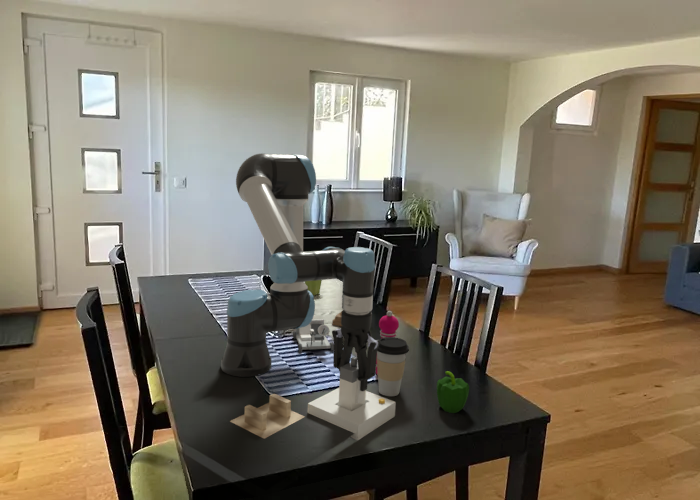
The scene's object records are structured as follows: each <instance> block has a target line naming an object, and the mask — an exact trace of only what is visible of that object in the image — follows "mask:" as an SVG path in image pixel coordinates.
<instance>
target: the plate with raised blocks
mask: <svg viewBox="0 0 700 500" xmlns="http://www.w3.org/2000/svg"><path fill="white" fill-rule="evenodd" d="M291 408H292V400H289V399H287V398H285V397H282V396H281V395H278V394H276V393H272V394H270V395H269V401H268V402H267V403H265V404H263V405H261V406H259V407H256V406H253V405H251V404H247V405H246V406H244V414H241V415H239V416H237V417H235V418H233V419H231V420H229V422H230V423H232V424H235V425H236V426H238V427H240V428H242V429H244V430H246V431H247V432H250V433H252V434H254V435H256V436H257V437H260V438H262V439H264V440H265V439H267V438H268V437H270V436H272V435H274V434H275V433H278V432H280V431H282V430H284V429H285V428H287V427H289V426H290V425H292V424H294V423H297V422H298V421H300V420H302V419H304V418H305V417H306V416H304V415H303V414H299V412H295V411H293V410H292V409H291Z"/></svg>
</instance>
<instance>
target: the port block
mask: <svg viewBox="0 0 700 500" xmlns="http://www.w3.org/2000/svg"><path fill="white" fill-rule="evenodd" d="M396 405H397V404H396V401H394V400H392V399H388V398H387V397H383V396H381V395H378V394H376V393H373V392H370V391H367V390H366V398H365V404H364V405H362V406H360V407H359V408H357V409H355V410H353V411H350V410H347V409H345V408H342V407H340V406H339V387H337V388H336V389H333V390H332V391H330V392H328V393H326V394H324V395H322V396H320V397H317V398H316V399H314V400H312V401H309V402H308V403H307V414H310V415H312V416H314V417H315V418H316V417H317V418H319V419H321V420H323V421H325V422H328V423H330V424H332V425H335V426H337V427H339V428H342V429H344V430H345V431H349V432H351V433H352V434H351V435H350V436H349V438H351V439H353V440H355V441H359V440H362V438H364V437H366V436H367V435H368V434H370V433H372V432H373V431H375V430H376V429H377V428H379V427H380V426H382V425H384V424H385V423H387V422H388V421H390V420H391V419H393V418H395V416H396Z"/></svg>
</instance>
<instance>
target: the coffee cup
mask: <svg viewBox="0 0 700 500" xmlns="http://www.w3.org/2000/svg"><path fill="white" fill-rule="evenodd" d="M378 340H379V341H380V344H379V347H378V349H377V364H376V366H377V373H378V375H377V379H378V380H377V381H378V382H377V383H378V393H379V394H381V395H382V396H386V397H395V396H398V395H399V393H400V391H401V390H400V389H401V385H402V379H403V376H404V372H405V365H406V356H407V353H409V352H410V347H409V345H408V343H407V341H406V340H404V339H402V338H400V337H385V338H381V337H380V338H379V339H378Z"/></svg>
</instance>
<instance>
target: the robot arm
mask: <svg viewBox="0 0 700 500" xmlns="http://www.w3.org/2000/svg"><path fill="white" fill-rule="evenodd" d="M316 174H317V173H316V169H315V167H314V164H313V162H312V161H311V159H310V158H309V157H307V156H305V155H303V154H295V153H291V154H287V153H285V154H284V153H263V152H262V153H256V154H253V155H251V156H249V157H248V158H246V159H244V161H243V162H242V163H241V165H240V166H239V168H238V170H237V173H236V179H235V185H236V189H237V193H238V195H239V197H240V199H241V200H242V201H243V202H245V203H247V206H248V208H249V209H250V210H249V211H250V212H251V214H252V216H253V218H254V220H255V223H256V224H257V227H258V229H259V231H260V233H261V235H262V236H261V237H262V238H263V239H264V242H265V244H266V246H267V248H268V250H269V253H270V257H269V259H268V261H267V264H268V265H267V270H268V271H269V272H268V275H269V277H270V279H271V281H272V282H273V284H271V286H270V288H269V289H270V290H269V292H270V293H267V292H266V290H264V289H257V288H256V289H245V290H241V291H238V292H236V293H234V294H232V295H231V296H229V298H228V300H227V309H226V317H227V318H226V322H227V323H226V328H227V329H226V334H227V335H226V337H227V338H226V339H227V343H226V347H225V349H224V353H223V356H222V357H221V361H220V363H221V364H220V365H221V367H220V368H221V369H220V370H222V372H223V373H225V374H227V375H230V376H233V377H242V378H244V377H245V378H249V377H256V376H261V375H263V374H265V373H268V372H269V371H270V370H271V369H272V357H271V355H270V351H269V347H268V345H267V333H274V332H280V331H288V330H296V329H298V328H301V327H305V326H307V325H309V323H310V322H311V321H312V320H313V319H314V316H315V310H316V302H315V299H314V298H315V296H314V295H313V294H312V293H311V292H310V291H308V286H307V285H306V284H305V281H317V280H322V281H324V280H325V281H326V280H338V281H340V282H342V296H341V301H342V302H341V309H342V310H341V311H342V313H341V325H342V327H341V326H340V327H339V328H336V329H333V330H332V331H331V334H332V339H333V344H334V350H333V360H332V361H333V363H332V364H333V368H335V369H338V372H340V367H342V366H344V365H346V364H348V363H350V362H351V358H352V355H353V354H352V353H353V351H354V352H355V353H356V358H357V361H358V369H359V378H357V383H356V403H357V404H358V403H360V402H362V401H364V394H365V390H366V391H367V390H368V380H370V379H372V378H374V377H375V375H376V366H377V364H376V359H377V349H378V347H379V344H380V341H379V340H380V339H374V338H373V337H372V334H371V330H370V329H371V327H372V318H373V317H372V316H373V313H372V310H373V302H374V301H373V300H374V293H373V292H374V285H375V284H374V281H375V269H376V265H375V264H376V263H375V257H376V256H375V252H374V251H373V250H372V249H370V248H368V247H361V246H353V247H348V248H345V250H344V249H342V248H340V247H335V246H327V247H324V248H323V249H322V250H311V251H310V250H308V251H307V250H306V251H304V205H305V204H306V203H307V201H309V195H310V194H311V193H313V192H314V191H315V188H316V186H317V175H316ZM367 343H368V344H367ZM353 349H354V350H353ZM339 382H340V378H339Z"/></svg>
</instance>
